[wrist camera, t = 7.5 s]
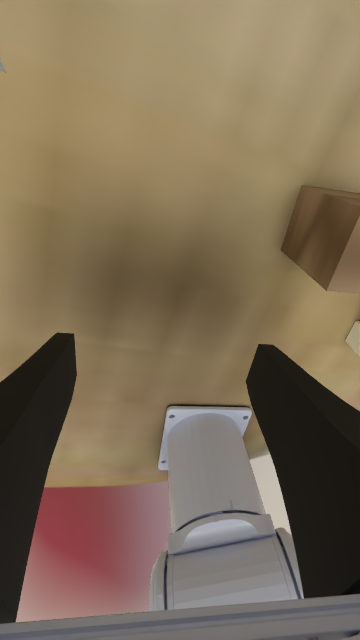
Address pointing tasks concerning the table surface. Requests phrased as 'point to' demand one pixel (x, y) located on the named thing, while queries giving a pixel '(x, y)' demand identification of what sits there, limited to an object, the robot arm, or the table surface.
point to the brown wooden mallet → (326, 237)
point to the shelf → (354, 337)
